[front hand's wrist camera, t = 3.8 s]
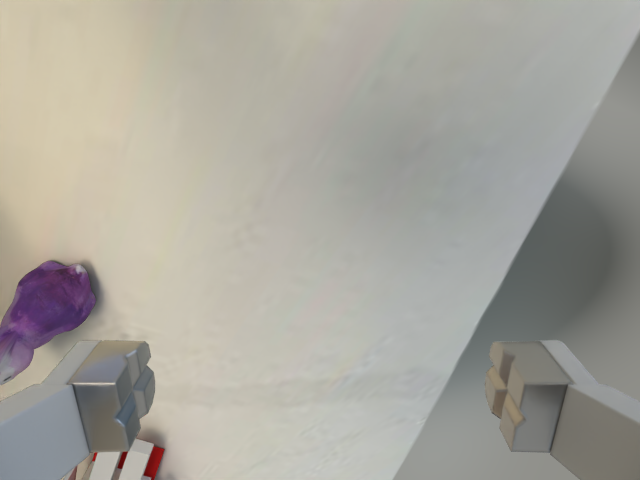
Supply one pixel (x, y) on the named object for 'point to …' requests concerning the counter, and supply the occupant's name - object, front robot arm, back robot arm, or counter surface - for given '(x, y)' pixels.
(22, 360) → the figurine
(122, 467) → the toy
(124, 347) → the front robot arm
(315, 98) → the counter surface
